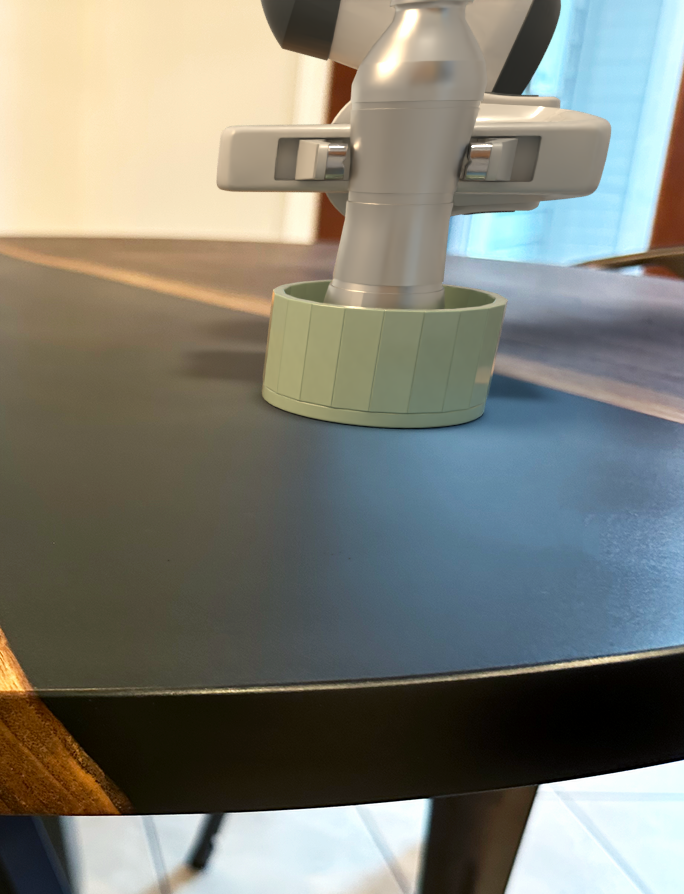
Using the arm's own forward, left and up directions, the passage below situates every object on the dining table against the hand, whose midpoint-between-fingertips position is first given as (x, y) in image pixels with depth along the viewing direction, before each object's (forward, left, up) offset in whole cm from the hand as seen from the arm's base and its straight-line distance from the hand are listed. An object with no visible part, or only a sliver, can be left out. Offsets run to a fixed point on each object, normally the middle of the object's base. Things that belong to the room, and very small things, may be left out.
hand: (406, 162), depth 52 cm
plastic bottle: (0, -1, -11) cm, 11 cm away
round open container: (0, -1, -13) cm, 13 cm away
